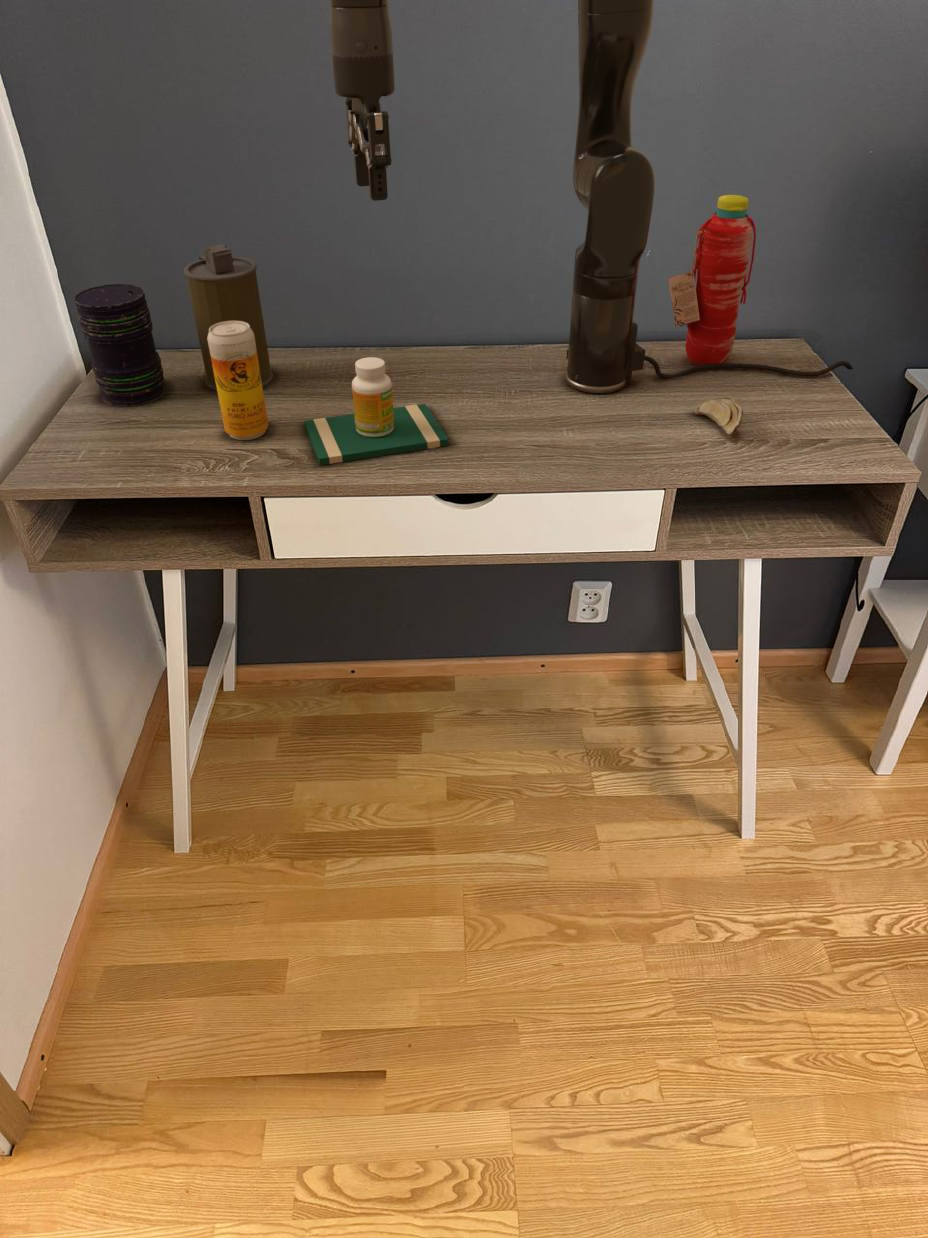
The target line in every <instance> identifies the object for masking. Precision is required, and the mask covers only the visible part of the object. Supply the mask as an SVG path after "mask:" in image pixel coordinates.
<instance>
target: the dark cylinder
mask: <svg viewBox="0 0 928 1238" xmlns="http://www.w3.org/2000/svg"><path fill="white" fill-rule="evenodd" d="M73 300H74V303H75V306H76V311H77V314H78V321H79V325H80V327H81V330H82V332H81V333H82V335H83V337H84V339H85V340H86V342H87V344H88V348H89V351H90V355H91V359H92V361H91V367H92V372H93V373H94V379H95V382H96V385H97V386H98V389H99V391H100V398H101V399H102V401H103V403H105V404H108V405H110V406H115V407H135V406H140V405H141V406H142V405H146V404H149V403H152V402H154V401H157V400H159V399H160V398H162V397H163V396H164V395H165V394H166V392H167V386H166V383H165V376H164V368H163V365H162V358H161V356H160V354H159V353H158V351H157V349H156V344H155V340H154V336H153V330H154V328H153V322H152V318H151V317H152V316H151V311H150V308H149V306H148V302H147V300H146V294H145V290H144V288H142V287H141V286H139V285H134V284H130V283H129V284H127V283H113V284H105V285H103V284H102V285H97V286H93V287H90V288H86V289H84V290H82V291H80V292H78V293H76V294H75V296H74V297H73Z"/></svg>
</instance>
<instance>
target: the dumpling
mask: <svg viewBox="0 0 928 1238" xmlns="http://www.w3.org/2000/svg"><path fill="white" fill-rule="evenodd" d="M694 414H695V415H697V416H701V415H703V416H706V417H708V418H709V419H711V420H712V421H714V422H715V423H716V424H717V425H718V426H719V427H721V428H722V430H723V431H724V432H725V434H728V435H729V436H731V437H732V438H734V437H735V435H738V432H737V431H738V430H737V429H739V428H740V426H741V424H742V421H743V417H744V411H743V405H742V404H740V403H738V402H737V401H736V400H735V399H733V398H731V397H717V398H714V399H710V400H709V399H708V400H706V401H704V402H702V403H700V404H698V405H697V406H696V408H695V410H694Z"/></svg>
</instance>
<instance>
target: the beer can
mask: <svg viewBox="0 0 928 1238" xmlns="http://www.w3.org/2000/svg"><path fill="white" fill-rule="evenodd" d="M207 340H208V345H209V350H210V355H211V361H212V366H213V371H214V376H215V382H216V387H217V391H216V392H217V397H218V402H219V408H220V413H221V418H222V424H223V428H224V431H225V433H227V435H229V437H231V438H232V439H233V440H234V439H235V440H237V441H249V440H255V439H257V438H261V436H264V434H265V433H266V430H267V429H268V427H269V420H268V414H267V408H266V402H265V401H266V400H265V395H264V394H265V393H264V389H263V388H264V387H262V381H261V375H260V369H259V362H258V356H257V350H256V343H255V337H254V333H253V331H252V330H251V328H250V325H249V324H248V323H246V322H243V321H224V322H219V323H216V324H214V325H212V326H211V327H210V328H209V333H208V337H207Z"/></svg>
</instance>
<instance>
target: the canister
mask: <svg viewBox="0 0 928 1238" xmlns="http://www.w3.org/2000/svg"><path fill="white" fill-rule="evenodd" d="M203 253H204V255H203V256H198V260H195V261H193V262H190V263H189V264H187V265H186V266H185V267H184V269H183V274H184V276H185V278H186V283H187V287H188V294H189V296H190V302H191V308H192V312H193V317H194V321H195V322H194V323H195V327H196V333H197V338H198V342H199V347H200V351H201V357H202V362H203V366H204V372H205V376H206V377H205V384H206V386H207V387H208V388H209V389H210V390H213V391H216V392H217V387H216V382H215V376H214V371H213V366H212V361H211V355H210V350H209V345H208V340H207V337H208V333H209V328H210V327H211V326H212V325H214V324H216V323H219V322H224V321H243V322H246V323H248V324H249V325H250V328H251V330H252V331H253V333H254V337H255V343H256V350H257V356H258V362H259V369H260V375H261V381H262V388H264V387H266V386H267V385H269V384H270V383H271V381H272V380H273V378H274V374H273V372H272V369H271V362H270V356H269V350H268V342H267V337H266V329H265V323H264V316H263V309H262V303H261V296H260V290H259V283H258V276H257V268H258V266H257V263H256V262H255V261H254V260H253V259H250V258H248V257H242V256H233V254H232V250H231V249H230V248H229V247H227V245H226V244H224V243H221V244H217V245H216V244H215V245H211V246H205V247H203Z"/></svg>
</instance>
